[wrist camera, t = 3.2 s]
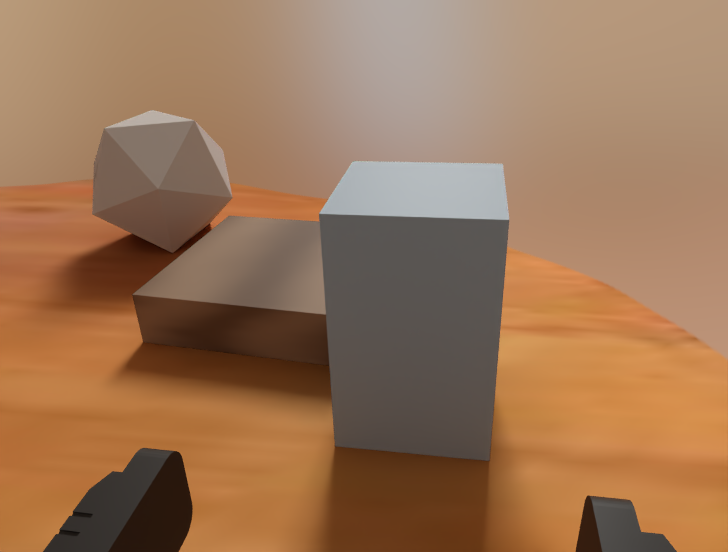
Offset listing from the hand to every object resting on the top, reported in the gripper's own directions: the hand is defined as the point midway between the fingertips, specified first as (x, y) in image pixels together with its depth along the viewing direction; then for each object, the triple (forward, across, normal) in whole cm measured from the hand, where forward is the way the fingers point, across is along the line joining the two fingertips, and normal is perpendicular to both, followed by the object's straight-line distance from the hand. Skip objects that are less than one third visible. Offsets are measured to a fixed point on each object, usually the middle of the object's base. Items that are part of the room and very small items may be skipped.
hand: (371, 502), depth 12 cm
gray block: (+11, 0, +6) cm, 12 cm away
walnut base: (+18, +8, +6) cm, 21 cm away
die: (+26, +18, +6) cm, 32 cm away
